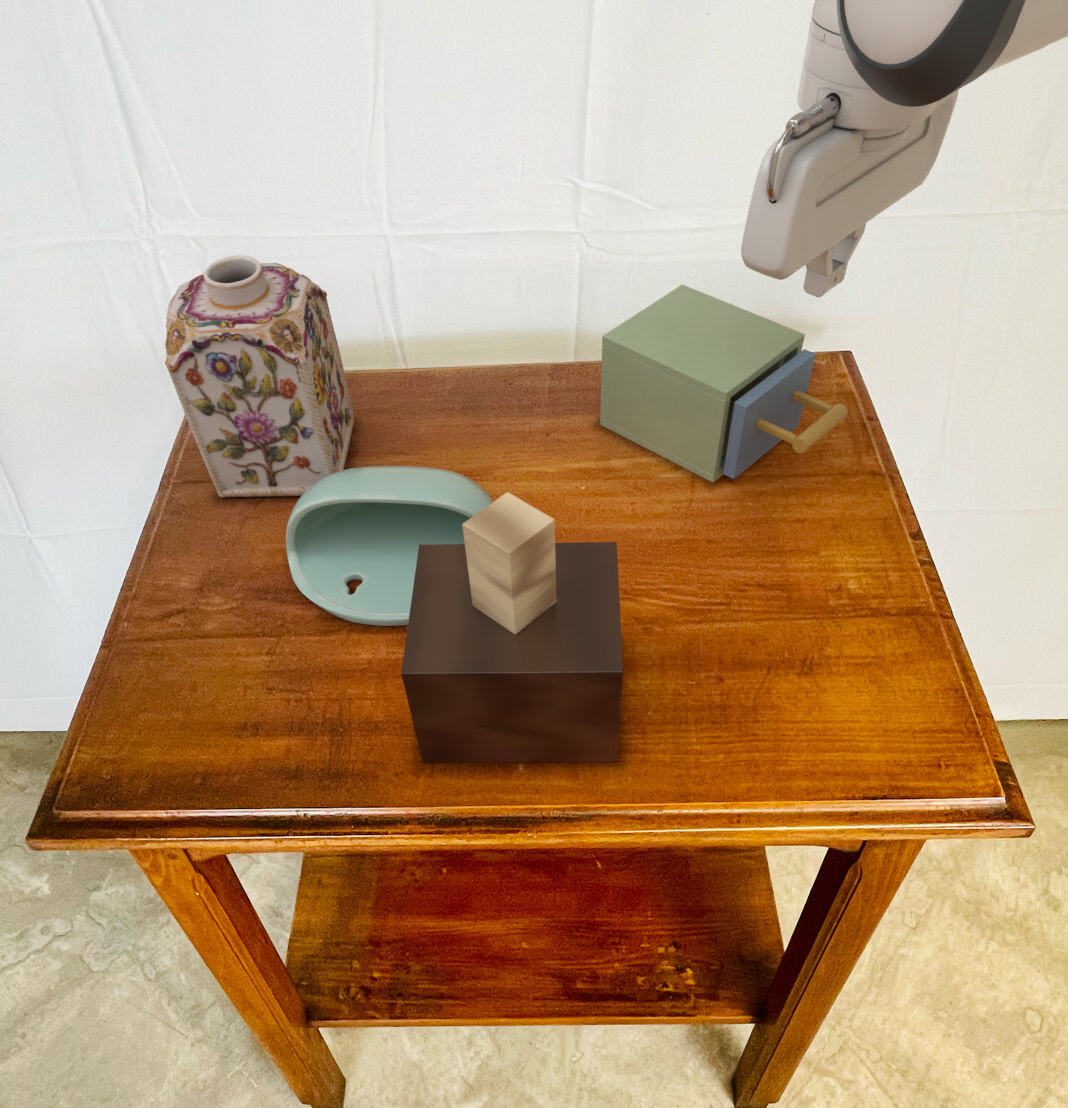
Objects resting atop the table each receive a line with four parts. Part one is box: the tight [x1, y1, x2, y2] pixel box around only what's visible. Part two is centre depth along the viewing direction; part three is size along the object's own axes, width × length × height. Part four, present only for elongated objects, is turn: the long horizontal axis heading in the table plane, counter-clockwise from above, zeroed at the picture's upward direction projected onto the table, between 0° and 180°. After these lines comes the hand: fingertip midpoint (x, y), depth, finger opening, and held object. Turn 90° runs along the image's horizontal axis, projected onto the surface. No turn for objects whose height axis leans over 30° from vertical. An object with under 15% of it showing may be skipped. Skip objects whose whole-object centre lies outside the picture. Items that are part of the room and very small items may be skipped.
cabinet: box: [599, 284, 806, 484], centre depth 83 cm, size 14×12×9 cm
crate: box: [400, 541, 624, 764], centre depth 64 cm, size 14×12×10 cm
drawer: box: [721, 348, 849, 480], centre depth 81 cm, size 18×10×7 cm, turn 47°
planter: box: [285, 465, 495, 627], centre depth 75 cm, size 19×7×16 cm
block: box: [462, 491, 556, 635], centre depth 57 cm, size 4×4×7 cm
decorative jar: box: [164, 255, 355, 499], centre depth 79 cm, size 12×12×18 cm
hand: (822, 287), depth 69 cm, fingers closed
